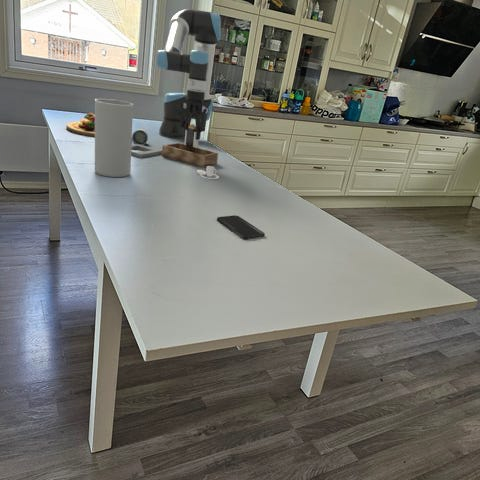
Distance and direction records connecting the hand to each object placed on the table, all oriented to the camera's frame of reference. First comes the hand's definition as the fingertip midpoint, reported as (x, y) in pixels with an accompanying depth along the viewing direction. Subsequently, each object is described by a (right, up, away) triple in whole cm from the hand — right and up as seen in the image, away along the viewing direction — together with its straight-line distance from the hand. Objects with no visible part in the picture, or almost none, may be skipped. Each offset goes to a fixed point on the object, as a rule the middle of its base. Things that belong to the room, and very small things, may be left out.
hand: (190, 145), depth 182 cm
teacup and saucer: (+9, -16, -14) cm, 23 cm away
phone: (+22, -39, -64) cm, 78 cm away
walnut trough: (-1, -6, +3) cm, 7 cm away
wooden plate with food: (-52, +14, +32) cm, 63 cm away
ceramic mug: (-29, +5, +18) cm, 34 cm away
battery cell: (-1, -3, +1) cm, 4 cm away
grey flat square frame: (-24, -3, +2) cm, 24 cm away
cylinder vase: (-25, -18, -33) cm, 45 cm away
